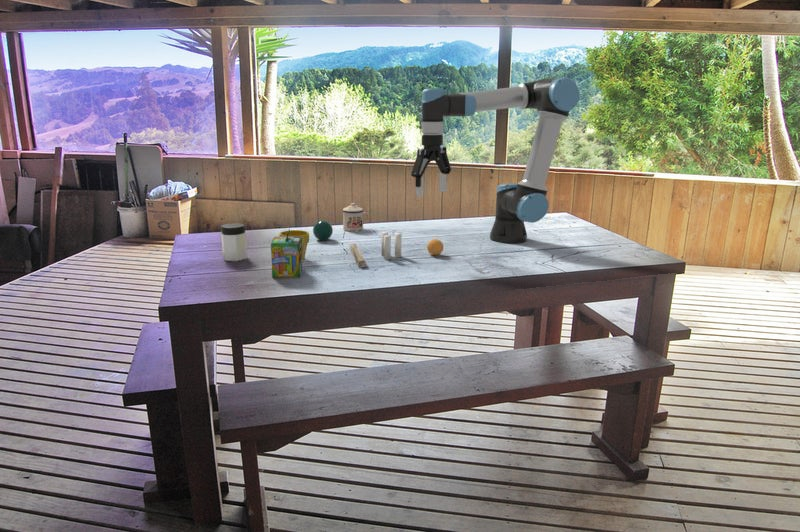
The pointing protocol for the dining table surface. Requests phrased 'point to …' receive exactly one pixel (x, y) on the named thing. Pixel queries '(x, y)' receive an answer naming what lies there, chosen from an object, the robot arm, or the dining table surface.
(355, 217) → the teacup with lid
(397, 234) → the front pin
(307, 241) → the plant pot
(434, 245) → the ball
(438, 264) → the dining table surface
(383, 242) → the pin
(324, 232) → the sphere
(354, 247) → the brown wooden bar
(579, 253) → the dining table surface
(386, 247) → the pin
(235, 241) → the jar
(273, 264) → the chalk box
